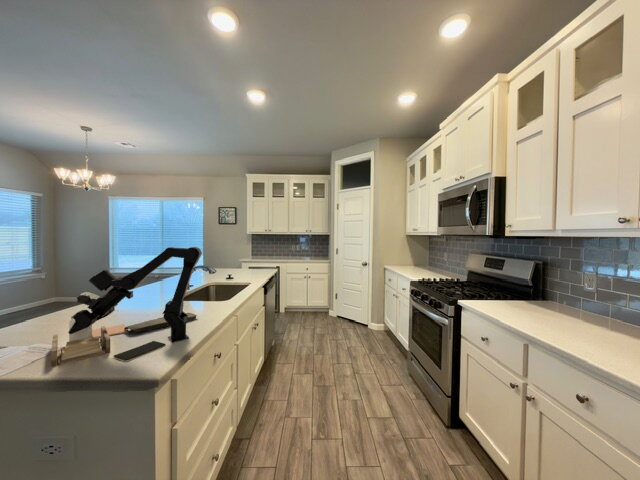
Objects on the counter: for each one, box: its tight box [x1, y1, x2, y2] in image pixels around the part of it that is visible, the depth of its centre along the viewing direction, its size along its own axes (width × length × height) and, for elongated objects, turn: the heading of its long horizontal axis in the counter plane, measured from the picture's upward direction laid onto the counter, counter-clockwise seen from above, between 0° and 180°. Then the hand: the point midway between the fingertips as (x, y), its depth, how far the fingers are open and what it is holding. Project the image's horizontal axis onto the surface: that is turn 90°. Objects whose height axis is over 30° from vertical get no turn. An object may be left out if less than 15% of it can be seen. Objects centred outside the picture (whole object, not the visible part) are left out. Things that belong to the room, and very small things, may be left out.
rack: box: [50, 325, 111, 367], centre depth 98 cm, size 19×15×5 cm
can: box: [68, 315, 93, 342], centre depth 101 cm, size 6×6×12 cm
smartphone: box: [112, 340, 166, 362], centre depth 98 cm, size 7×1×15 cm
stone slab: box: [124, 312, 198, 333], centre depth 127 cm, size 10×3×30 cm
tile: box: [92, 323, 130, 339], centre depth 116 cm, size 12×12×1 cm
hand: (77, 329), depth 100 cm, fingers open, 9 cm apart
